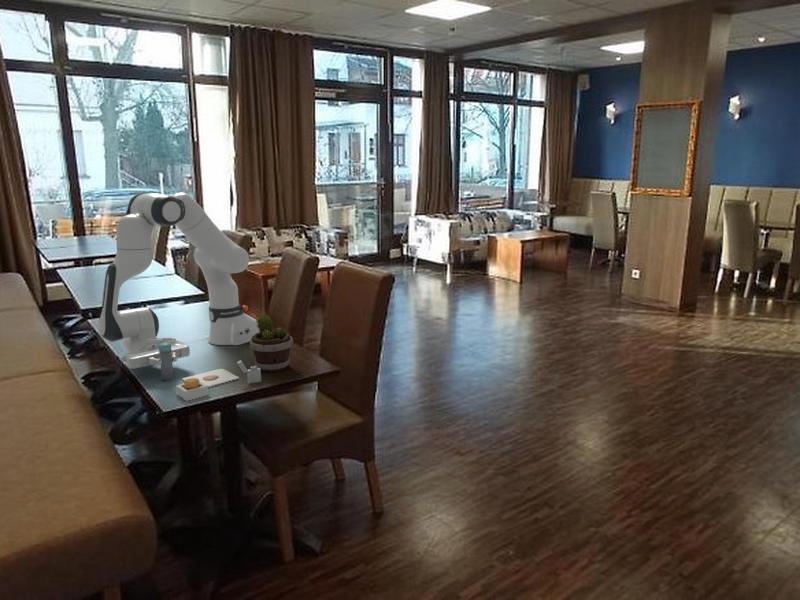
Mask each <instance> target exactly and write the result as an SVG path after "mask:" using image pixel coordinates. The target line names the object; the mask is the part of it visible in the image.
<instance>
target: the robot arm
mask: <svg viewBox="0 0 800 600" xmlns="http://www.w3.org/2000/svg"><path fill="white" fill-rule="evenodd" d="M125 214H126V215H124V216H122V217H120V218H119V219H118V223H117V227H116V254H115V257H114V260H113V262H112V263H111V264H110V265H107V268H106V272H105V277H104V282H103V283H104V284H103V291H102V302H101V311H100V315H99V318H98V319H99V320H98V333H99V335H100V337H102V338H103V339H105V340H106V341H109V342H112V343H113V342H117V341H121V340H122V345H123V347H124V349H125V351H127V353H126V354H125V355H124V356H122V357H121V358H120V361H121V362H125V365H126V367H127V368H129V369H131V370H135V369H138V368H139V369H140V368H144V367H148V366H151V365H152V366H153V365H154V366H161V365H162V360H161V359H160V352H159V344H161V343H171V348H172V350H171V352H172V363H174V362H178V359H182V358H185V357H189V356H190V354H191V352H190V345H188V344H187V343H185V342H184V341H180V340H177V339H176V338H175V337H158V334H159V329H160V321H159V317H158V316H157V313H156V312H154V311H153V309H151V308H150V307H148V306H144V307H135V308H129V309H121V310H118V305H119V299H120V298H119V296H120V289H121V287H122V286H123V284H124V283H125V282H127V281H129V280H131V279H132V278H134V277H136V276H138V275H141V274H142V273H143V272H145V271H146V270H147V269H149V267H150V266H151V265H152V262H153V256H154V254H153V239H152V235H153V232H154V229H155V227H158V226H161V227H171V226H174V225H176V226H177V228H178V229H179V231H180V232H181V233H182V234H183V235H184V237H185V238H186V239H187V241H188V242H189V243H190V244H191V245H192V246H194V247H195V249H194V251H193V259H194V262H195V264H197V265H198V267H200V270H201V272H202V274H203V276H204V279H205V281H206V286H207V291H208V299H209V307H208V316H209V322H210V323H209V325H210V326H209V333H208V334H209V335H208V339H207V342H208V344H211V345H217V346H240V345H243V344H245V343H250V339H251V338H252V337H253V336H254V335H255V334H256V333H259V332H260V331H259V330H258V329H259V328H257V326H256V325H258V322H257V319H256V320H255V319H254V318H252V317H251V316H249V314H246V313H245V312H247V311H248V305H245V304H243V305H242V304H240V302H239V301H240V300H239V288H238V285H237V282H235V280H233V277H232V274H237V273H242V272H244V271H246V269H247V267H249V264H250V257H249V256H250V255H249V253H248V251H247V250H246V249H244V248H243V247H241V246H240V245H238V244H237V243H235V242H234V241H233V240H232V239H231V238H230V237H228V236H227V235H226V234H225V233H224V232H223V231H222V230H220V229H219V227H217V225H216V224H215V223H214V222H213V220H212V219H211V218H210V216H208V214H207V213H206V211H205V210H204V208H202V207H201V205H200V204H199V203H198V202H197V201H196V200H195V199H194V198H193V197H192V196H190V195H189V194H188V193H186V192H182V191H181V192H177V193H176V192H175V193H174V194H172V195H171V194H164V193H158V192H150V193H149V192H141V193H137V194H135V195H133V196H132V197H131V198H130V200H129V202H128V205H127V209H126V212H125ZM255 321H256V322H255Z"/></svg>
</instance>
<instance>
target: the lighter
mask: <svg viewBox="0 0 800 600" xmlns="http://www.w3.org/2000/svg"><path fill="white" fill-rule="evenodd" d="M236 363H237V364H238V366H239V368H240V369H241V370H242V372H243V374H246V377H247V378H246V381H247V383H248V384H250V383H251V384H255V383H261V382H262V371H261V369H260V368H258V367H257V366H256V365H253V366H252V365H251V366H250V367H249V368H248V369H247V367H246V365H245V364H244V362H243V361H242V360H241V359H240V360H238V361H237V362H236Z"/></svg>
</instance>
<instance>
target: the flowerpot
mask: <svg viewBox="0 0 800 600" xmlns="http://www.w3.org/2000/svg"><path fill="white" fill-rule="evenodd" d="M256 321H257V323H258V325H256V326H257V328H259V329H258V330H259V331H260V332H259V333H256V334H255V335H254V336H253V337H252V338H251V339H250V342H249V347H250V349H252V351H253V355H254V358H255V359H254V364H255V365H254V366H257V367H258V368H260V369H261V372H264V373H267V372H268V373H277V372H281V371H284V370H286V368H288V365H289V364H290V360H291V359H290V358H291V357H290V354H291V353H290V352H291V348H292V346H293V344H294V340H293V337H292V336H291V335H290V333H288V332H286V330H285V328H283V326H282V327H281V326H279V325H277V328H275V329H274V326H275V325H274V323H273V318H272V316H270V315H268V313H266V311H263V312H261V313H260V315H259V316H258V317H257V319H256ZM256 321H255V322H256Z"/></svg>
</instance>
